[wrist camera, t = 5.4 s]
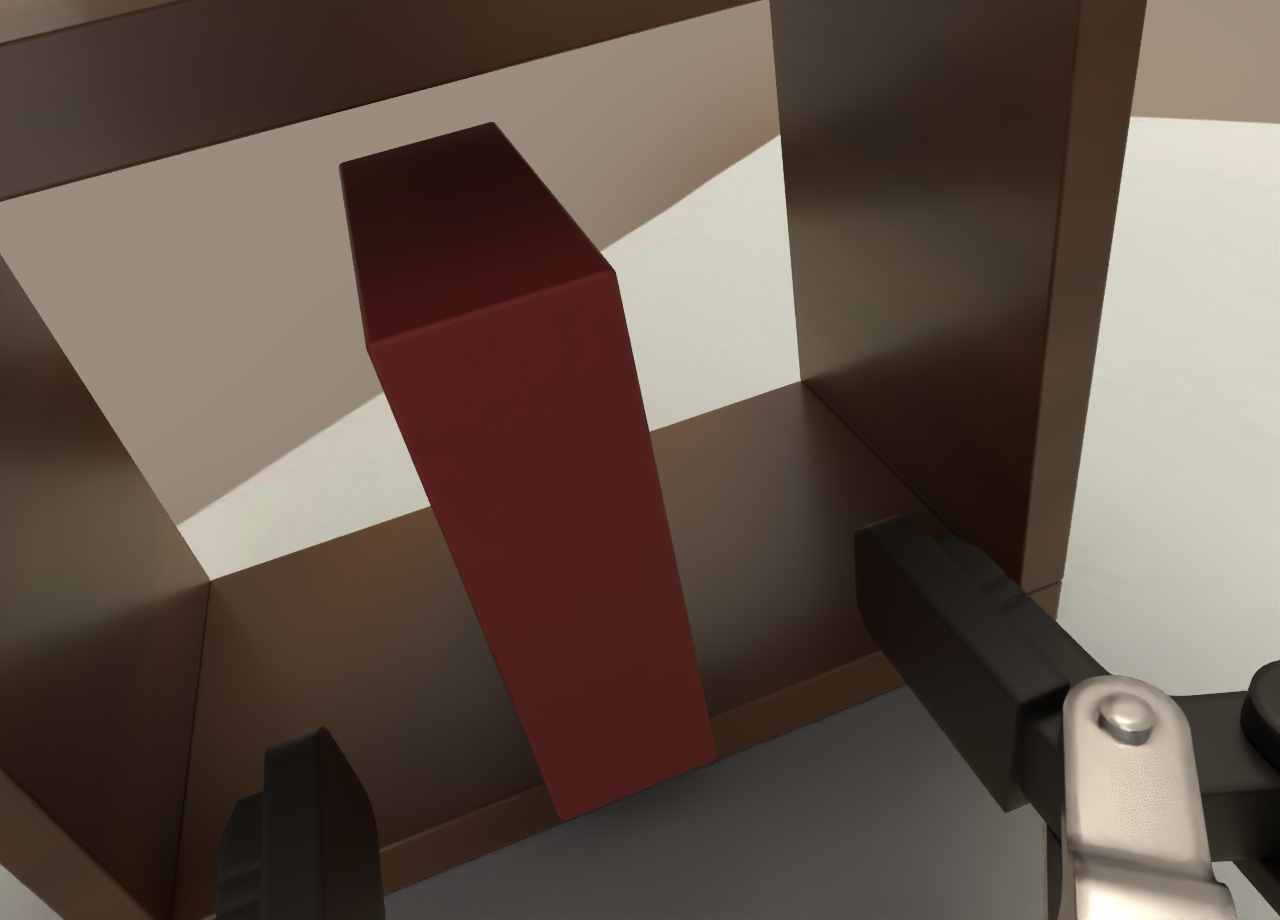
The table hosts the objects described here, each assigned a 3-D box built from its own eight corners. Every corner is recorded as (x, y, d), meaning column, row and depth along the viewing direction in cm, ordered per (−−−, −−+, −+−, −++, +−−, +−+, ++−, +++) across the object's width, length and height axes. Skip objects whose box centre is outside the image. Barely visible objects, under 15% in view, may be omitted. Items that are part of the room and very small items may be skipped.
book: (599, 510, 25) (494, 119, 19) (719, 760, 18) (616, 267, 12) (484, 550, 25) (337, 162, 18) (561, 824, 18) (364, 345, 11)
